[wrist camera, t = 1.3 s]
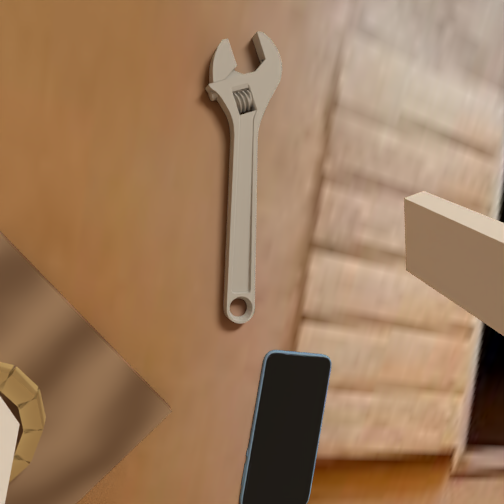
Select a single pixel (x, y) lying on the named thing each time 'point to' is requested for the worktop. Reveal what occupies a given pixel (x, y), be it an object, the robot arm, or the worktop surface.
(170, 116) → the worktop surface
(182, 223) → the worktop surface
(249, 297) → the adjustable wrench
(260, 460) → the smartphone
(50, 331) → the socket plate
